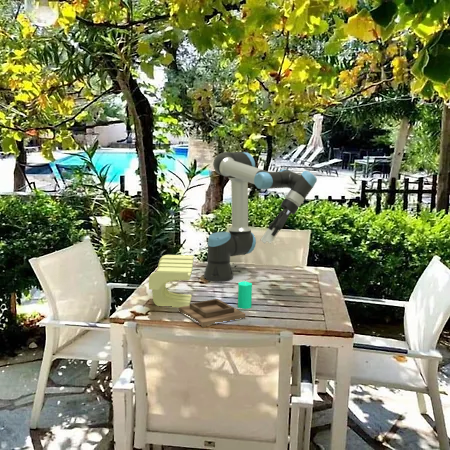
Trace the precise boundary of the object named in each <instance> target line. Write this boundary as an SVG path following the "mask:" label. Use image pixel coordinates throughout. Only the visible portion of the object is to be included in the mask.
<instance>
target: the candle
mask: <svg viewBox="0 0 450 450" xmlns="http://www.w3.org/2000/svg"><path fill="white" fill-rule="evenodd" d="M237 285H238V286H237V287H238V288H237V308H239V309H241V308H242V309H243V310H248V309H251V308H252V303H253V302H252V299H253V298H252V297H253V282H249V281H246V279H245V280H242V281H239V282H238V283H237ZM242 309H241V310H242Z"/></svg>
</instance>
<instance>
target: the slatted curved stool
mask: <svg viewBox="0 0 450 450" xmlns="http://www.w3.org/2000/svg"><path fill="white" fill-rule="evenodd" d="M194 259H195V258H194V255H192V254H191V255H186V254H185V255H184V254H183V255H182V254H165V255H162V256H161V257H160V258H159V260H158V264H157V269H156V271H154V272H152V273H151V274H150V276H149V277H148V290H152V292H151V293H152V301H153V303H154V304H155V306H157V307H159V306H172V307H171V308H179V307H183V306H189V305H190V304H191V303H192V299H191V298H192V296H193V295H192V294H186V293H185V294H184V293H175V292H172V291H169V290H168V289H167V286H166V285H167V283H171V282H176V281H190V279H191V276H192V273H193V266H194Z"/></svg>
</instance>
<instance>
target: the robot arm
mask: <svg viewBox="0 0 450 450" xmlns="http://www.w3.org/2000/svg"><path fill="white" fill-rule="evenodd" d="M212 165H213V169H214V171H215V173H216V174H219V175H221V176H224V177H228V180H229V181H230V182H231V183H230V184H231V188H230V189H231V227H230V228H229V230H228V231H216V232H213V233H211V234H209V236H208V238H207V264H206V266H205V269H204V273H203V278H204V279H205V278H206V279H205V280H207V281H210V282H211V281H212V282H228V281H231V280H233V278H234V272H233V268H232V266H231V257H236V256H246V255H248V254H251V253H252V252H253V251H254V250H255V248H256V244H257V242H256V241H257V239H256V237H255V235H254V233H253V232H252V229H251V228H250V227H249V195H248V194H249V191H248V190H249V189H248V188H249V187H248V185H249V183H250V184H253V185H255V187H256V188H257V189H259V190H269V189H285V188H286V189H289V191H288V192H287V194H286V196H285V198H283V200H282V201H281V203H280V207H281V208H282V210H280V211H279V212H278V214H277V216H276V217H275V218H274V219H273V220H272V222H271V223H270V224H269V225H268V228H267V230H266V231H265V232H264V234H262V235H263V236H262V237H261V238H260V242H262V243H263V244H266V243H269V244H271V243H272V242H273V241H274V239H275V238H276V236H277V235H278V233H279V232H280V231H281V230H282V229H283V227H284V225H286V222H287V220H288V219H289V216H291V215H295V214H296V213H297V211H298V210H299V207H300V206H301V205H302V204H304V201H305V200H306V198H307V196H308V195H309V193H310V192H311V191H312V190H313V188H315V187H314V186H315V185H316V183H317V181H318V180H317V177H316V176H315V175H314V173H312V172H310V171H308V170H303V171H302V172H301V174H300V173H296V172H295V171H291V170H289V169H283V168H282V169H280V170H278V171H267V170H264V169H261V168H260V167H257V166H256V161H255V159H254V157H253V156H252V155H251V153H249V152H247V151H246V152H243V151H230V152H229V151H225V152H224V151H223V152H221V153H219V154H217V155H216V156H215V157H214V159H213V164H212Z"/></svg>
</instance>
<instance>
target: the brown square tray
mask: <svg viewBox="0 0 450 450" xmlns="http://www.w3.org/2000/svg"><path fill="white" fill-rule="evenodd" d="M179 311H180V312H182V313H184V314H186V315H188V316H190V317H191V318H193V319H195V320H196V321H198V322H199V323H201V326H200V327H201V328H207V327H208V326H207V325H208V324H211V323H215V322H223V321H230V320H235V319H240V318H244V319H246V313H245V312H243V311H242V310H240V309H238V308H236V307H233V306H232V305H230V304H228V303H226V302H224V301H222V300H221V299H218V298H215V299H207V300H204V301H203V300H202V301H197V302H190V305H189V306H183V307H178V312H179ZM180 312H179V313H180ZM240 320H241V319H240ZM235 321H236V320H235ZM230 322H231V321H230ZM206 326H207V327H206Z"/></svg>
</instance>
